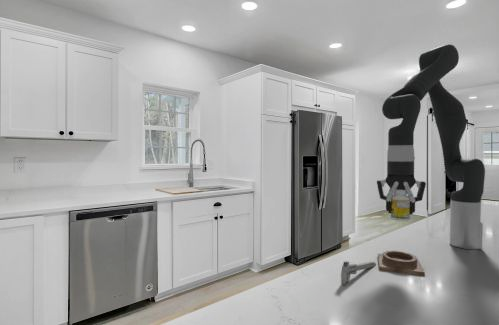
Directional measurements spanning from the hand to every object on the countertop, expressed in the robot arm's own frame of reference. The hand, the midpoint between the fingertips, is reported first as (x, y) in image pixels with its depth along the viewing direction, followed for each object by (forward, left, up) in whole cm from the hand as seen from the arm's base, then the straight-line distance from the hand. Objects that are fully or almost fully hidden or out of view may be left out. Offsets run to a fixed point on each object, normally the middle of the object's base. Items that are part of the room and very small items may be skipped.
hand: (400, 213), depth 91 cm
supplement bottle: (0, 0, -2) cm, 2 cm away
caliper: (+12, +11, -17) cm, 24 cm away
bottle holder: (0, 0, -17) cm, 17 cm away
